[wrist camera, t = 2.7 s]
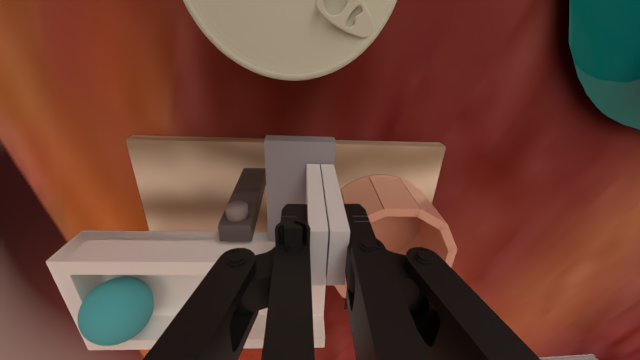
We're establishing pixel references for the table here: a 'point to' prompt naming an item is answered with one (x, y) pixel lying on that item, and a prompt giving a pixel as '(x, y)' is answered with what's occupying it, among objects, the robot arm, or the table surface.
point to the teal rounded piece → (608, 55)
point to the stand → (250, 178)
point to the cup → (400, 216)
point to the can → (291, 33)
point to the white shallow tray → (188, 250)
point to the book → (571, 357)
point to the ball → (115, 311)
